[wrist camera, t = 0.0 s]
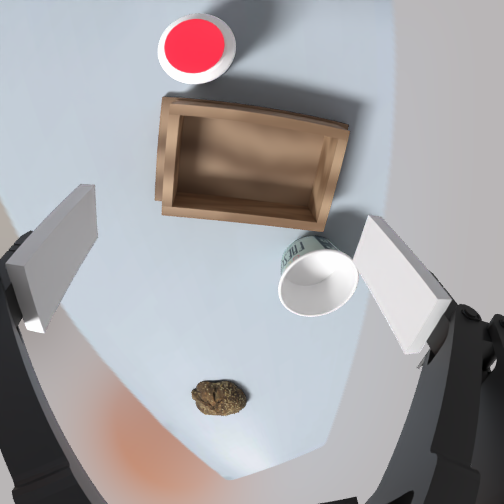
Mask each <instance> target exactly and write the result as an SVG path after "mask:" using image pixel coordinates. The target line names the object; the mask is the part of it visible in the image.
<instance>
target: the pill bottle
mask: <svg viewBox="0 0 504 504" xmlns="http://www.w3.org/2000/svg"><path fill="white" fill-rule="evenodd" d="M235 52H236V41H235V37H234V34H233V32H232V31H231V29H230V27H229V26H228V25H227V24H226V23H225V22H224V21H222V20H221V19H219V18H217V17H215V16H213V15H209V14H201V13H196V14H189V15H186V16H183V17H181V18H179V19H177V20H175V21H174V22H173V23H171V24H170V25H169V26H168V27H167V28H166V30H165V31H164V32H163V34H162V36H161V38H160V41H159V44H158V58H159V61H160V64H161V66H162V68H163V69H164V71H165V72H166V73H167V74H168V75H169V76H171V77H172V78H173V79H175V80H177V81H180V82H183V83H187V84H203V83H206V82H210V81H213V80H215V79H217V78H219V77H220V76H221V75H223V74H224V73H225V72H226V71H227V70H228V68H229V66H230V65H231V63H232V62H233V59H234V56H235Z"/></svg>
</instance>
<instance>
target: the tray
mask: <svg viewBox="0 0 504 504" xmlns="http://www.w3.org/2000/svg"><path fill="white" fill-rule="evenodd" d="M348 127H349V125H348V124H345V123H341V122H336V121H332V120H328V119H323V118H319V117H314V116H309V115H304V114H299V113H294V112H289V111H283V110H278V109H272V108H266V107H259V106H253V105H246V104H238V103H230V102H222V101H213V100H203V99H192V98H179V97H162V105H161V115H160V125H159V137H158V149H157V164H156V182H155V201H162V215H165V216H176V217H187V218H198V219H208V220H218V221H228V222H238V223H248V224H257V225H266V226H275V227H284V228H293V229H302V230H310V231H319V232H324V228H325V225H326V221H327V218H328V214H329V211H330V207H331V203H332V200H333V196H334V192H335V189H336V185H337V181H338V177H339V174H340V170H341V166H342V162H343V158H344V154H345V150H346V146H347V142H348V138H349V134H350V131H348Z"/></svg>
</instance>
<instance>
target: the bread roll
mask: <svg viewBox="0 0 504 504" xmlns="http://www.w3.org/2000/svg"><path fill="white" fill-rule="evenodd" d="M191 393H192V399H193V400H195V401H196V406H197V408H198V409H199V410H200V411H201V412H202V413H204V414H206V415H221V416H224V415H225V416H227V415H230V414H235V413H237V412H239V410H242V409H243V408H244V407H245V406H246V402H247V400H246V396H245V394H244V393H243V391H242V390H241V389H240V388H238V387H237V386H236V385H235V384H234V383H232V382H229V381H221V382H216V383H212V382H209V381H202V382H200V383H199V384H198V385H197V386H196V389H194V390H192V392H191Z"/></svg>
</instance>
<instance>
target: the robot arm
mask: <svg viewBox="0 0 504 504" xmlns="http://www.w3.org/2000/svg"><path fill="white" fill-rule="evenodd" d="M97 238H98V231H97V218H96V199H95V185H89V184H80V185H79V186H78V187H77V188H76V189H75V190H74V191H73V192H72V193H70V194H69V195H68V196H67V197H66V198H65V199H64V200H63V201H62V202H61V203H60V204H59V205H58V206H57V207H56V208H55V209H54V210H53V211H52V212H51V213H50V214H49V215H48V216H47V217H46V218H45V219H44V220H43V222H42V223H41V224H40V225H39V226H38V227H37V228H36V229H35V230H34V231H29V232H27V233H26V234H24V235H22V236H21V237H20V238H19V239H18V240H17V241H16V242H15V243H14V245H13V246H11V248H10V249H9V251H7V252H6V253H5V255H3V257H2V258H1V259H0V449H1V452H2V454H3V457H4V460H5V462H6V465H7V466H8V469H9V472H10V474H11V476H12V479H13V482H14V486H15V487H14V489H13V490H12V495H13V499H14V502H15V504H107V502H106V501H105V500H104V498H103V497H102V496H101V494H100V493H99V492H98V490H97V489H96V487H95V486H94V484H93V483H92V481H91V480H90V478H89V477H88V475H87V473H86V472H85V470H84V469H83V467H82V465H81V464H80V462H79V460H78V459H77V457H76V455H75V454H74V452H73V450H72V448H71V447H70V445H69V443H68V441H67V439H66V438H65V436H64V434H63V432H62V430H61V428H60V426H59V424H58V423H57V421H56V418H55V416H54V414H53V412H52V410H51V408H50V406H49V404H48V401H47V399H46V397H45V395H44V393H43V390H42V388H41V386H40V383H39V381H38V378H37V376H36V373H35V371H34V368H33V366H32V363H31V360H30V358H29V356H28V352H27V349H26V347H25V344H24V341H23V338H22V335H21V332H20V329H19V327H18V324H19V322H20V321H21V319H22V318H23V320H24V323H25V325H26V328H27V329H28V330H31V331H35V332H41V333H45V331H46V329H47V327H48V325H49V323H50V321H51V319H52V317H53V315H54V313H55V312H56V309H57V308H58V306H59V304H60V302H61V300H62V298H63V296H64V295H65V293H66V291H67V289H68V287H69V285H70V284H71V282H72V280H73V278H74V277H75V275H76V273H77V271H78V270H79V268H80V266H81V264H82V263H83V261H84V259H85V258H86V256H87V254H88V253H89V251H90V249H91V248H92V246H93V245H94V243H95V241H96V240H97ZM352 262H353V263H354V265H355V267H356V268H357V270H358V272H359V273H360V275H361V277H362V278H363V280H364V282H365V283H366V285H367V287H368V289H369V290H370V292H371V294H372V295H373V297H374V299H375V301H376V302H377V304H378V306H379V308H380V309H381V311H382V313H383V315H384V317H385V318H386V320H387V322H388V324H389V326H390V328H391V329H392V331H393V333H394V335H395V337H396V339H397V340H398V342H399V344H400V346H401V348H402V350H403V352H404V354H414V353H419V352H420V351H421V349H422V348H423V346H424V345H425V343H426V342H427V343H428V345H429V347H430V349H429V351H428V352H427V354H426V355H425V357H424V358H423V359H422V361H421V362H420V364H419V365H418V367H417V368H418V369H419V368H420V367H421V366H423V367H422V371H421V375H420V378H419V382H418V385H417V388H416V392H415V395H414V398H413V401H412V404H411V407H410V410H409V413H408V416H407V419H406V422H405V424H404V427H403V430H402V433H401V435H400V438H399V441H398V443H397V446H396V448H395V450H394V453H393V456H392V458H391V460H390V462H389V465H388V467H387V469H386V471H385V474H384V476H383V478H382V480H381V483H380V484H379V486H378V488H377V490H376V491H375V493H374V494H373V495H372V496H371V497H370V498H369V499H368V501H367V502H366V503H365V504H504V316H502V315H500V314H495V315H494V317H493V318H492V320H491V321H490V323H487V322H484V321H482V319H481V317H480V315H479V314H478V313H477V312H476V311H475V310H474V309H472V308H471V307H469V306H467V305H464V304H459V305H457V303H456V302H455V301H454V299H453V298H452V297H451V295H450V294H449V293H448V292H447V290H446V289H445V288H443V285H442V284H441V283H440V282H438V279H437V278H436V277H435V276H434V274H433V273H431V272H430V271H429V270H428V269H427V268H426V267H425V266H424V264H423V263H422V262H421V261H420V260H419V258H418V257H417V256H416V255H415V254H414V253H413V251H412V250H411V249H410V248H409V247H408V246H407V245H406V244H405V242H404V241H403V240H402V239H401V238H400V237H399V236H398V235H397V234H396V232H395V231H394V230H393V229H392V228H391V227H390V226H389V225H388V224H387V223H386V222H385V221H384V219H383V218H382V217H379V216H373V215H368V217H367V220H366V223H365V226H364V229H363V232H362V235H361V238H360V241H359V244H358V246H357V249H356V252H355V255H354V258H353V260H352ZM496 359H497V362H496V366H495V368H494V370H493V371H491V370H490V366H491V365H492V364H493V363H494V361H495V360H496ZM320 504H358V502H357V497H352V498H348V499H343V500H338V501H332V502H327V503H320Z"/></svg>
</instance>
